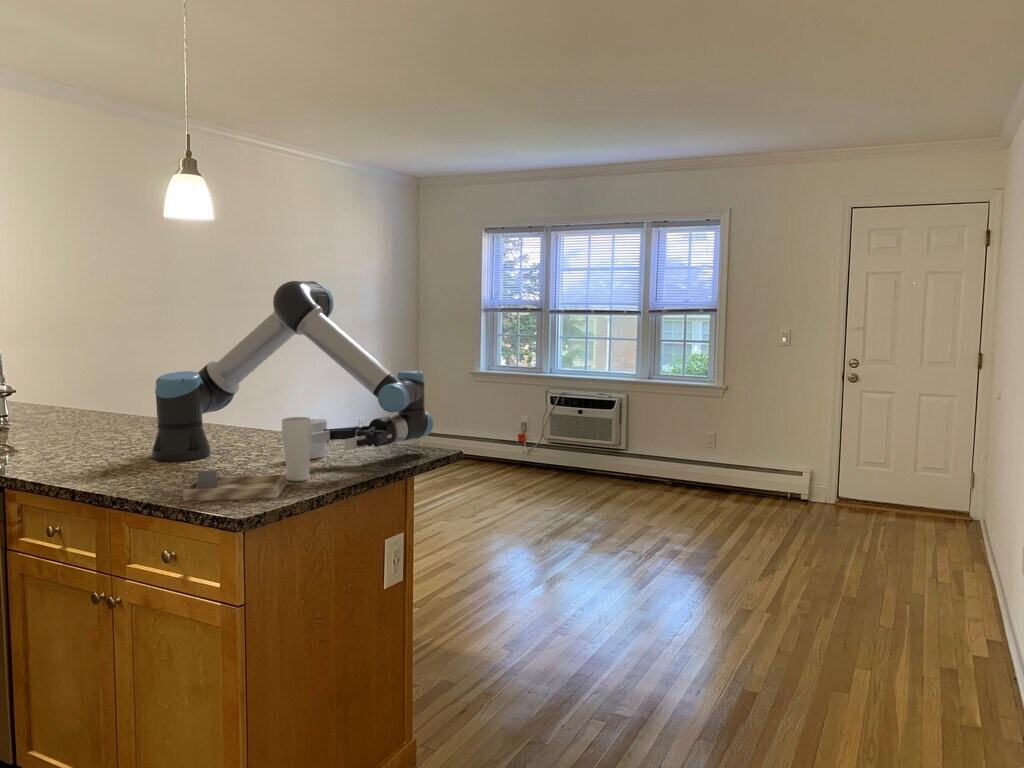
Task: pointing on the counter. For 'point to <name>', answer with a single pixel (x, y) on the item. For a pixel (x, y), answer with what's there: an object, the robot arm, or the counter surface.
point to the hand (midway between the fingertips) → (326, 442)
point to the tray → (238, 488)
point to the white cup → (319, 448)
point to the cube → (208, 479)
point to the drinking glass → (297, 447)
